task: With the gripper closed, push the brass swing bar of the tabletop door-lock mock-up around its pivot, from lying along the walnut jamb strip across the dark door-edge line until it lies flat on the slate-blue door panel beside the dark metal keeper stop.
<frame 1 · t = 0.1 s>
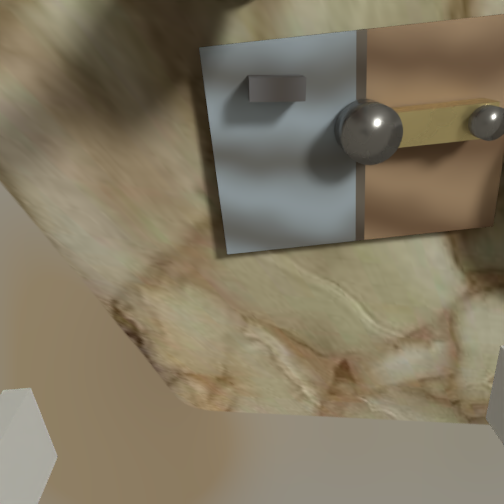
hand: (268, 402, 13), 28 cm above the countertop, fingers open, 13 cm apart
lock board: (355, 141, 37), on the countertop
swing bar: (417, 126, 33), point 4 cm above the countertop, hinge at 0.0°
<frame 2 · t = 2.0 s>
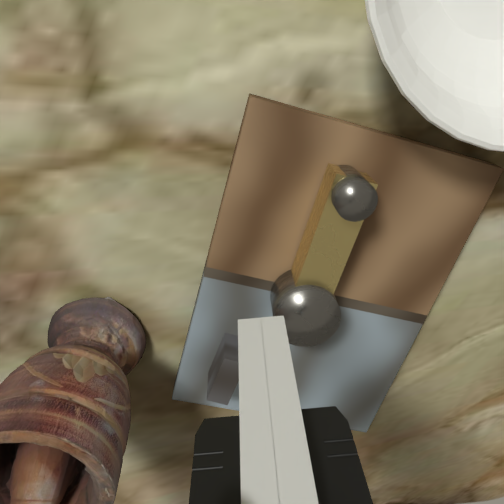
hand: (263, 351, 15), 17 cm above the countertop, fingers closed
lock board: (315, 285, 33), on the countertop
mortar and pestle: (105, 351, 35), on the countertop
swing bar: (322, 260, 28), point 4 cm above the countertop, hinge at 0.0°
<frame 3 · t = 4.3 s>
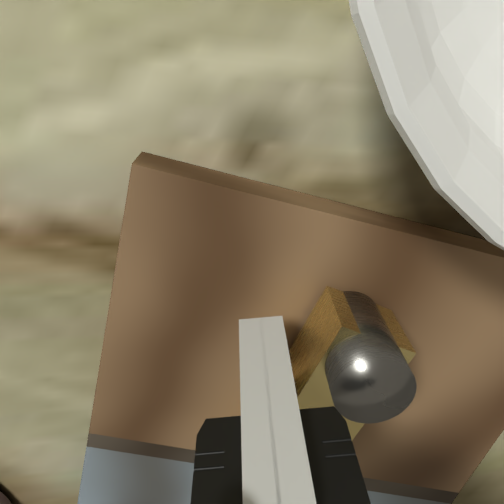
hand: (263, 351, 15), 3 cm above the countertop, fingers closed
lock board: (279, 441, 21), on the countertop
swing bar: (293, 449, 16), point 4 cm above the countertop, hinge at 8.4°, touching gripper
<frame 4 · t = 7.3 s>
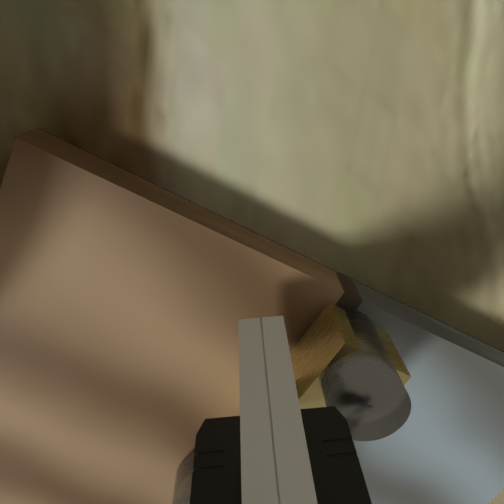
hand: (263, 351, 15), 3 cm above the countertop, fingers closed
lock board: (242, 421, 20), on the countertop
swing bar: (277, 460, 16), point 4 cm above the countertop, hinge at 93.0°, touching gripper
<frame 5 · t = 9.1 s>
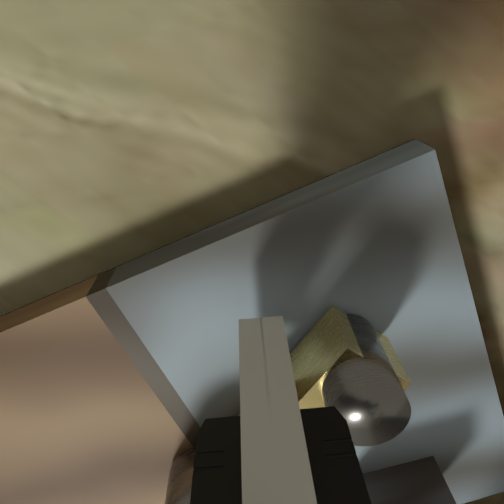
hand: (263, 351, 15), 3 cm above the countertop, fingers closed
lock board: (207, 420, 20), on the countertop
swing bar: (272, 461, 16), point 4 cm above the countertop, hinge at 147.1°, touching gripper
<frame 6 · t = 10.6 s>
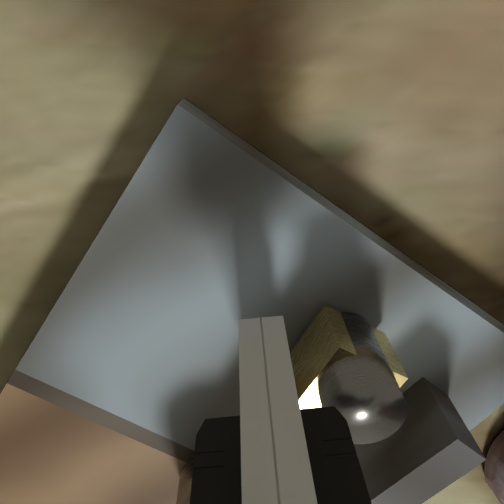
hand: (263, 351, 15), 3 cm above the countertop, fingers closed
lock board: (203, 432, 20), on the countertop
swing bar: (277, 463, 16), point 4 cm above the countertop, hinge at 173.6°, touching gripper
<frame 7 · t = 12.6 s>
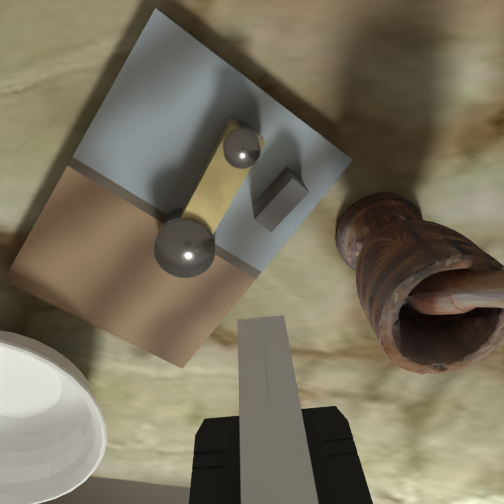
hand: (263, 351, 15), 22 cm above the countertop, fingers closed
bowl: (16, 377, 43), on the countertop
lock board: (173, 215, 36), on the countertop
mortar and pestle: (383, 213, 37), on the countertop
swing bar: (208, 202, 32), point 4 cm above the countertop, hinge at 173.6°
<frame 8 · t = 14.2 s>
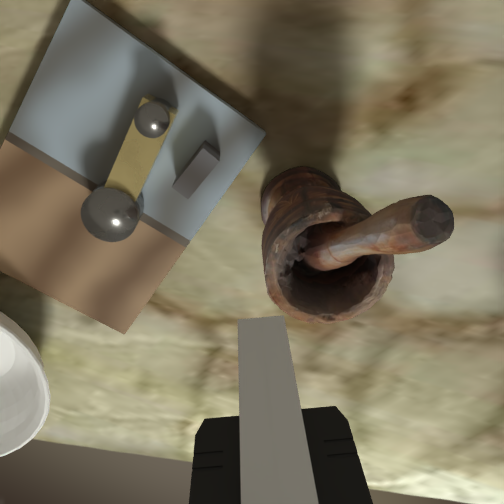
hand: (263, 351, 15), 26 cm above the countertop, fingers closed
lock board: (108, 187, 39), on the countertop
mortar and pestle: (305, 187, 40), on the countertop
swing bar: (130, 171, 35), point 4 cm above the countertop, hinge at 173.6°
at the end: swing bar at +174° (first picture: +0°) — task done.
